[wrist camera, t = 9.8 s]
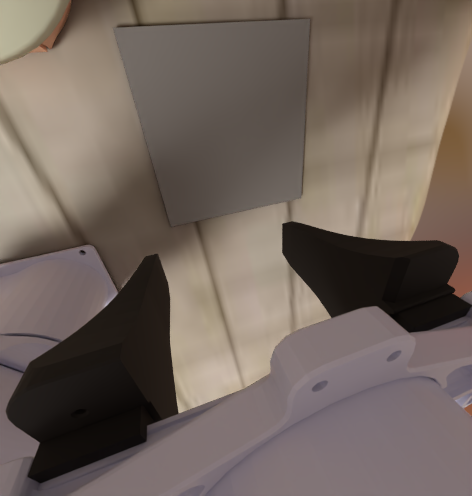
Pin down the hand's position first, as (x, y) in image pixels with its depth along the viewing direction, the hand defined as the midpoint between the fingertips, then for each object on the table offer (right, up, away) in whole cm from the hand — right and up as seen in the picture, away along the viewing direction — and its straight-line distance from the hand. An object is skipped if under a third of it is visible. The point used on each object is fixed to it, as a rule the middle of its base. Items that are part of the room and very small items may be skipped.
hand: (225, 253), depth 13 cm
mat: (0, +10, +7) cm, 12 cm away
